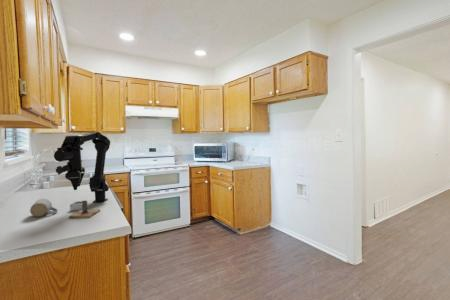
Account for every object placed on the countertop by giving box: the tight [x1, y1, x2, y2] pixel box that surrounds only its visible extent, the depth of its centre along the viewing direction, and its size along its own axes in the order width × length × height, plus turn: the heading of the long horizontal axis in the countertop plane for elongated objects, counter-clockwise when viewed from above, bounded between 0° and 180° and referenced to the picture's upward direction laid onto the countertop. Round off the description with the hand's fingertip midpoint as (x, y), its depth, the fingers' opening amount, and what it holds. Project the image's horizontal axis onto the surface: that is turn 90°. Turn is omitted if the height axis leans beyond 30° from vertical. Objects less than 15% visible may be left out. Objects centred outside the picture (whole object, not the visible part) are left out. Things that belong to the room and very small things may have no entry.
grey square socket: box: [69, 200, 89, 212], centre depth 129 cm, size 6×6×4 cm
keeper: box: [68, 199, 101, 219], centre depth 118 cm, size 10×10×7 cm
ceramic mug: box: [29, 198, 59, 218], centre depth 120 cm, size 11×8×8 cm
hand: (77, 188), depth 125 cm, fingers open, 9 cm apart
